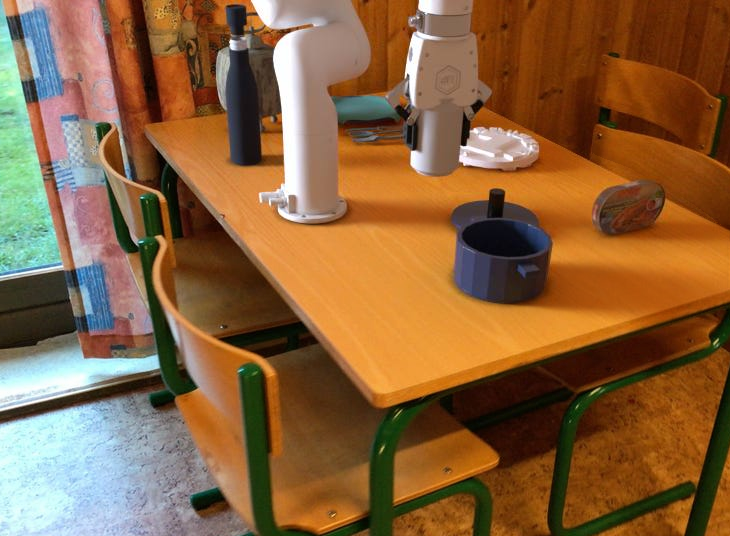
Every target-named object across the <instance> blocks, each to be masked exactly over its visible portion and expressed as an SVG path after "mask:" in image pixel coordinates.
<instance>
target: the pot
mask: <svg viewBox="0 0 730 536" xmlns="http://www.w3.org/2000/svg"><path fill="white" fill-rule="evenodd" d="M455 238H456V239H455V249H454V263H453V282H454V284H455V286H456V287H457V288H458V289H459V290H460V291H462V293H464V294H466V295H467V296H469V297H471V298H474V299H477V300H480V301H483V302H488V303H494V304H518V303H519V304H520V303H524V302H529V301H532V300H534V299H536V298H538V297H539V296H541V295H542V294H543V293H544V292H545V290H546V286H547V284H548V279H549V271H550V266H551V259H552V252H553V246H554V242H553V239H552V235H550V234H549V233H548V232H547V231H546V230H545V229H543V228H542V227H540V226H539V225H538V226H536V225H534V224H532V223H528V222H524V221H521V220H516V219H508V218H487V217H486V216H485V215H481V216H473V217H471V222H469V223H467V224H465V225H463V226H461V228H460V229H458V230H457V232H456V237H455Z"/></svg>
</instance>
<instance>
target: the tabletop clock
mask: <svg viewBox="0 0 730 536" xmlns="http://www.w3.org/2000/svg"><path fill="white" fill-rule="evenodd" d="M246 13H247V17H252V16H254V17H259V18H260V16H259V15H258V13H257V11H250V12H249V11H248V12H246ZM266 27H267V25H265V23H264V22H263V25H262V26H261V27H259V28H257V29H255V27H254V26H253V25H250V26H249V27H248V30H247V29H246V30H245V29H244V34H245V36H244V37H243V38H246V41H247V43H246V44H247V47H246V48H248V49H249V63H250V66H251V68H252V71H253V73H254V76H255V80H256V83H257V88H258V100H259V117H260V134H263V133H265V132H266V130H267V129H266V126H265V125H263V119H267V118H270V122H272V123H277V122H278V120H279V118H278V115H280V114H281V115H282V105H281V96H280V90H279V85H278V81H277V76H276V72H275V68H274V59H273V57H274V50H275V47H276V46H275V47H274V46H273V45H270V44H267V43H265V41H264V39H263V38H262V37H261V36H260V35H258V34H257V33H260V32H261V31H264V29H265V28H266ZM230 48H231V47H230V46H226V47H223V48H222V49H220V50H219V51H218V52H217V53H218V54H217V56H216V64H215V69H216V70H215V73H216V74H215V76H216V77H215V78H216V88H217V94H218V98H219V102H220V104H221V106H222V109H224V110H225V111H226V112H227V107H226V95H225V88H226V78H227V74H228V70H229V66H230V58H229V49H230Z"/></svg>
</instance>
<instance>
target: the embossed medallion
mask: <svg viewBox="0 0 730 536" xmlns="http://www.w3.org/2000/svg"><path fill="white" fill-rule="evenodd" d="M539 153H540V145H539V142H538V141H536V140H535V139H534V138H533V136H532V135H528V134H525V133H523V132H522V133H519V131H518V130H514V131H513V129H508V130H507V131H506V130H504V129H503V128H502V127H489V129H487V128H485V127H484V126H478V127H477V126H476V127H474V128H473V129H470V137H469V139H467V146H465V147H462V146H461V145H460V157H459V163H462V165H463V166H465V167H471V166H472V167H477V168H478V167H479V168H485V169H501V170H502V171H504V172H505V171H516V170H517V168H520V169H524V168H527V167H531V166H532V163H534V162H535V161H537V160H538V159H539Z"/></svg>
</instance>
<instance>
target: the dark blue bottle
mask: <svg viewBox="0 0 730 536" xmlns="http://www.w3.org/2000/svg"><path fill="white" fill-rule="evenodd" d="M224 8H225V22H226V26H228V27H230V38H229V47H231V48H230V49H229V58H230V66H229V70H228V74H227V78H226V88H225V95H226V107H227V111H226V119H227V131H228V142H229V151H230V152H229V156H230V162H231V163H233V164H234V165H237V166H243V167H247V166H249V167H250V166H254V165H258V164H260V163H261V162H262V161H263V153H262V152H263V151H262V137H261V135H262V133H261V132H260V117H259V100H258V88H257V83H256V80H255V76H254V73H253V71H252V68H251V66H250V63H249V49H248V48H246V47H247V44H246V43H247V41H246V38H244V37H245V36H246V34H245V33H244V30H245V26H247V25H248V16H247V13H248V12H247V6H246V5H245V4H238V3H237V4H235V3H234V4H233V3H232V4H228V5H226V6H225V7H224Z"/></svg>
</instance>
